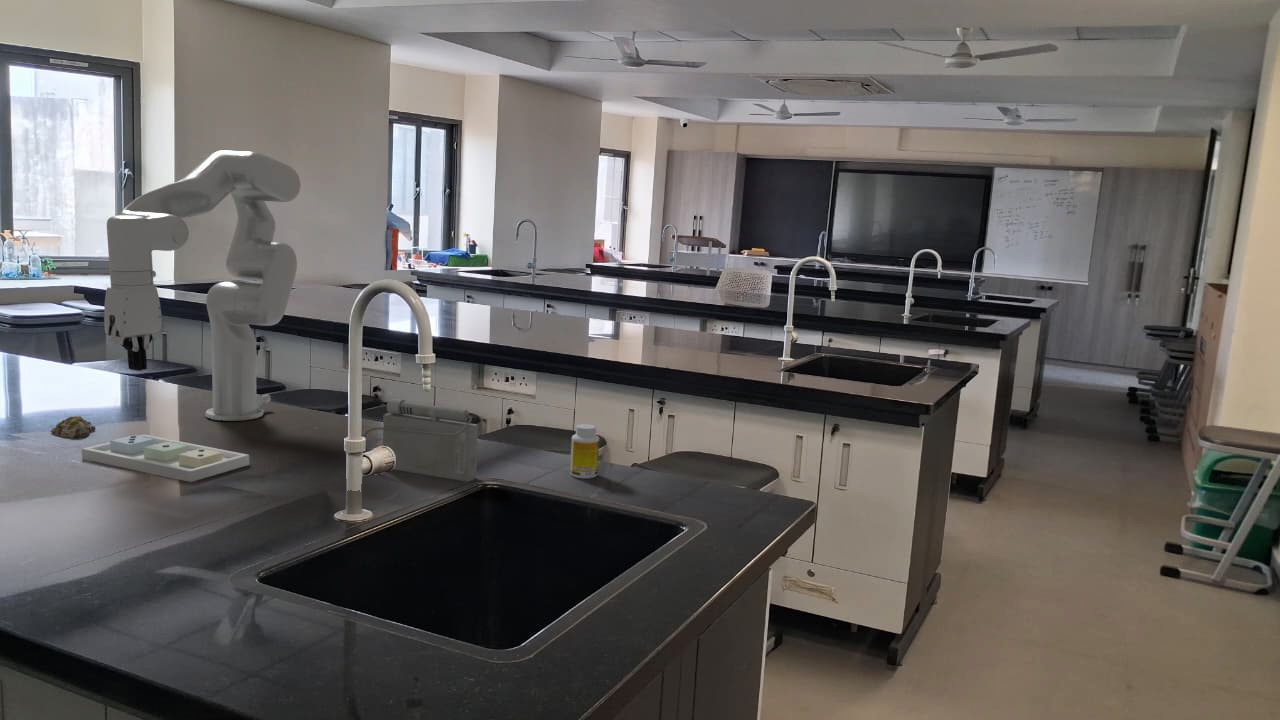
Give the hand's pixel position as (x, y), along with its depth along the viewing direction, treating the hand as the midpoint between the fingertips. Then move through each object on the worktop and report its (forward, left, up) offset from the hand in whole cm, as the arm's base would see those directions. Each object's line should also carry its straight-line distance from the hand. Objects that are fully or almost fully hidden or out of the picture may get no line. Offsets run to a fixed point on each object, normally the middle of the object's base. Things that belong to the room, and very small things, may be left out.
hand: (137, 369), depth 191 cm
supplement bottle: (-32, +85, -16) cm, 93 cm away
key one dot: (+5, +13, -15) cm, 21 cm away
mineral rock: (0, -19, -17) cm, 25 cm away
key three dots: (+5, +4, -15) cm, 16 cm away
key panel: (+5, +13, -16) cm, 21 cm away
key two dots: (+5, +22, -15) cm, 27 cm away
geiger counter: (-16, +56, -16) cm, 61 cm away
